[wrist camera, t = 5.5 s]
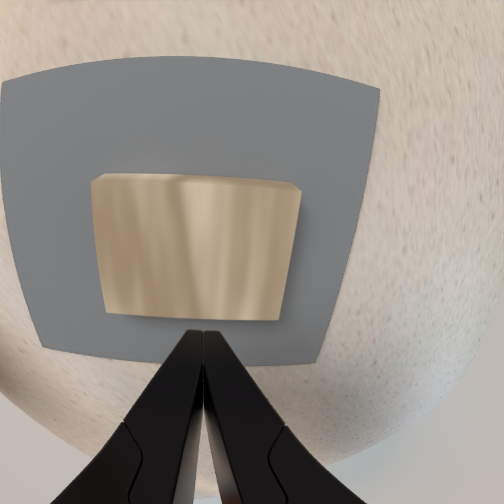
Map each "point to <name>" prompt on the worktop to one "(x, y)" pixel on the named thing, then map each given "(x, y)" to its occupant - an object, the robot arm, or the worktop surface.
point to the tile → (193, 244)
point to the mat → (185, 163)
